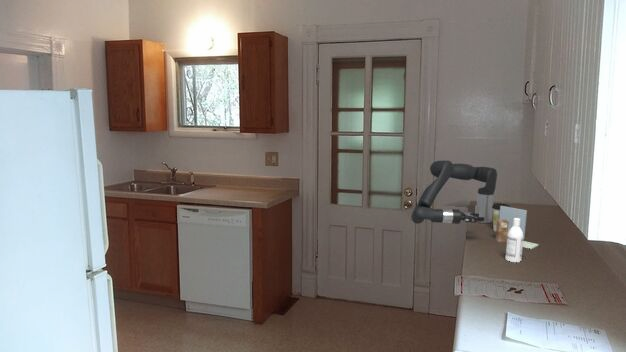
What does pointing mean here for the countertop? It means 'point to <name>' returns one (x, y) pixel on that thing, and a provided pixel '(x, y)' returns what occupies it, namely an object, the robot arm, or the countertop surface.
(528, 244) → the mat
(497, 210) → the coffee cup
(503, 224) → the brown wooden block
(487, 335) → the countertop surface
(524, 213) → the screen
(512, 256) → the bath foam
